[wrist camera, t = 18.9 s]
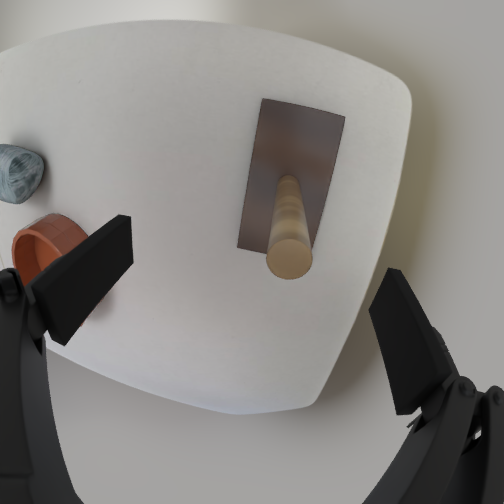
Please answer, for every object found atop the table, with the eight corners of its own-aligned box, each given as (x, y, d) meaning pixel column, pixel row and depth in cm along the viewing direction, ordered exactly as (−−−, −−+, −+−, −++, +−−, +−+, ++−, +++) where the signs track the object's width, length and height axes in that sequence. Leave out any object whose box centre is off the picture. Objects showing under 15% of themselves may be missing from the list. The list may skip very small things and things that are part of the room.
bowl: (27, 207, 33) (3, 221, 28) (100, 222, 32) (73, 241, 27) (45, 291, 41) (28, 308, 36) (113, 318, 41) (97, 342, 35)
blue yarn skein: (41, 140, 24) (-17, 187, 18) (58, 190, 32) (11, 234, 26) (13, 120, 26) (-32, 156, 20) (27, 162, 33) (-12, 196, 28)
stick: (279, 173, 26) (271, 234, 12) (301, 177, 25) (318, 244, 12) (275, 194, 27) (262, 274, 13) (296, 198, 26) (305, 283, 13)
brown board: (263, 99, 24) (262, 98, 22) (342, 117, 23) (345, 116, 22) (239, 242, 31) (236, 247, 30) (307, 256, 31) (308, 262, 30)
